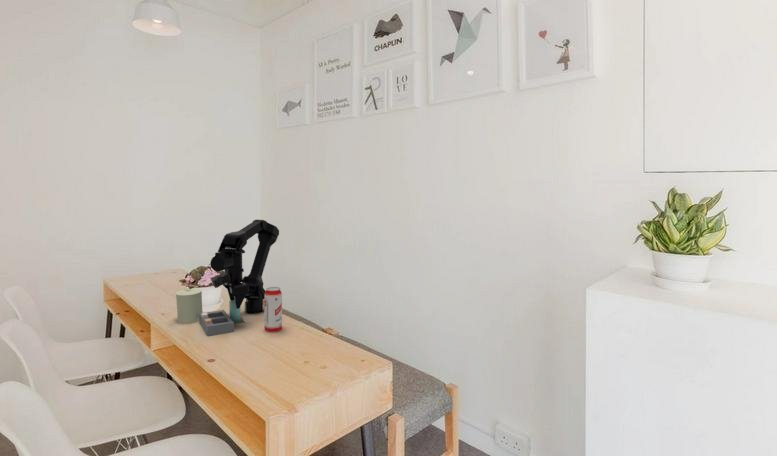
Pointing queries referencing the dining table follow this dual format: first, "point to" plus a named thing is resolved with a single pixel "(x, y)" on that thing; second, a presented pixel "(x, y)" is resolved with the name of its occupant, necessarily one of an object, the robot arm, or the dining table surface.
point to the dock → (216, 322)
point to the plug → (234, 312)
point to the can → (189, 305)
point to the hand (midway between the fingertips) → (235, 305)
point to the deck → (240, 321)
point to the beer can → (273, 309)
